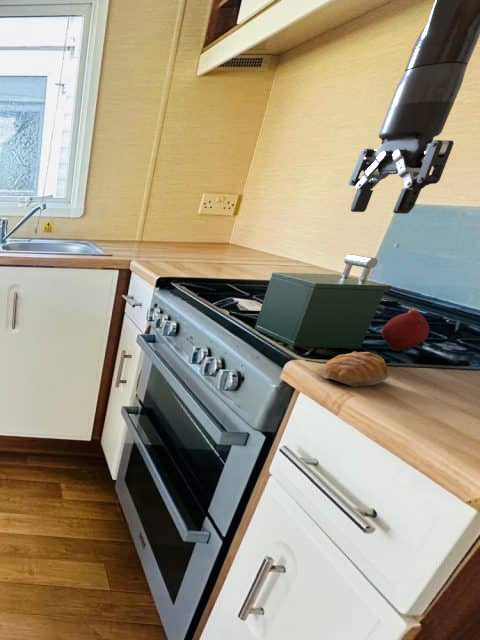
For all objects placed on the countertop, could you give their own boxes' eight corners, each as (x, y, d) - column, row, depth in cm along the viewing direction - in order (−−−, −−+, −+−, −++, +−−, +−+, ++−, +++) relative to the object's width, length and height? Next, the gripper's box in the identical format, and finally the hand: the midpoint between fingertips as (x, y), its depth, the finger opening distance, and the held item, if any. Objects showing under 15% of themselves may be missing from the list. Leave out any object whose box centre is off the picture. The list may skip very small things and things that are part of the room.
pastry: (361, 393, 59) (372, 368, 58) (307, 376, 65) (316, 353, 63) (388, 381, 63) (399, 358, 62) (335, 367, 69) (344, 344, 67)
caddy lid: (337, 278, 84) (347, 252, 82) (390, 290, 74) (403, 260, 72) (271, 276, 84) (279, 250, 82) (314, 288, 74) (324, 258, 72)
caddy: (313, 330, 89) (333, 278, 84) (360, 348, 78) (385, 290, 74) (254, 328, 89) (270, 276, 84) (292, 346, 78) (314, 288, 74)
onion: (412, 349, 78) (433, 307, 75) (421, 358, 74) (444, 314, 71) (371, 343, 81) (390, 302, 78) (378, 351, 77) (398, 308, 73)
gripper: (494, 94, 61) (440, 215, 67) (402, 112, 74) (364, 212, 80) (443, 92, 61) (393, 213, 67) (360, 111, 74) (325, 210, 80)
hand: (377, 212), depth 74 cm, fingers open, 8 cm apart
